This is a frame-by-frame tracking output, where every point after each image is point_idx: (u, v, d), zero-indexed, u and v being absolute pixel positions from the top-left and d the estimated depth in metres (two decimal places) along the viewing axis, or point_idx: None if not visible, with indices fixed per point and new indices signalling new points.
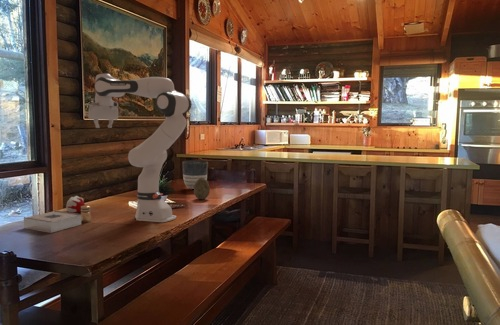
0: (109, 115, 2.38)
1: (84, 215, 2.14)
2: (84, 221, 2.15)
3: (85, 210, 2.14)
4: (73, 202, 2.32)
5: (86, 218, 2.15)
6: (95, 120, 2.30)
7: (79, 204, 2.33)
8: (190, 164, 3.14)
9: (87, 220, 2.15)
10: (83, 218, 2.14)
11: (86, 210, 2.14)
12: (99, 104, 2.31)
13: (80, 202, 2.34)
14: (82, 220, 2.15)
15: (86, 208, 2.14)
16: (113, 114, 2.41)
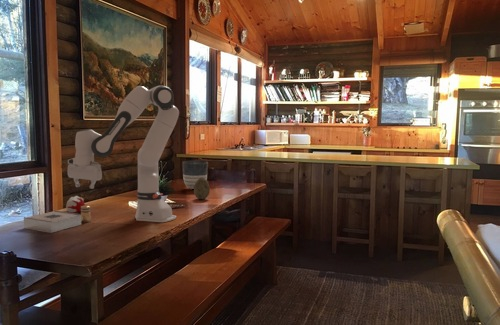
0: None
1: (84, 215, 2.14)
2: (84, 221, 2.15)
3: (85, 210, 2.14)
4: (73, 202, 2.32)
5: (86, 218, 2.15)
6: (94, 181, 2.12)
7: (79, 204, 2.33)
8: (190, 164, 3.14)
9: (87, 220, 2.15)
10: (83, 218, 2.14)
11: (86, 210, 2.14)
12: None
13: (80, 202, 2.34)
14: (82, 220, 2.15)
15: (86, 208, 2.14)
16: None
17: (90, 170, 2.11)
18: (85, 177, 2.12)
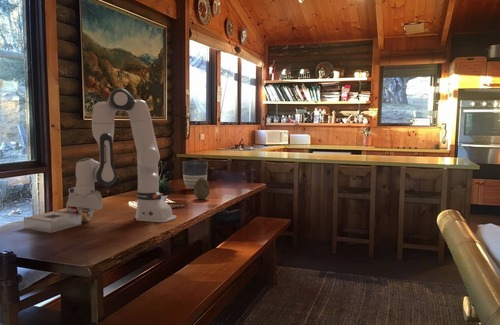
0: None
1: (84, 215, 2.14)
2: (84, 221, 2.15)
3: (85, 210, 2.14)
4: None
5: (86, 218, 2.15)
6: (93, 209, 2.15)
7: None
8: (190, 164, 3.14)
9: (87, 220, 2.15)
10: (83, 218, 2.14)
11: (86, 210, 2.14)
12: None
13: None
14: (82, 220, 2.15)
15: (86, 208, 2.14)
16: None
17: (91, 199, 2.12)
18: (86, 206, 2.13)
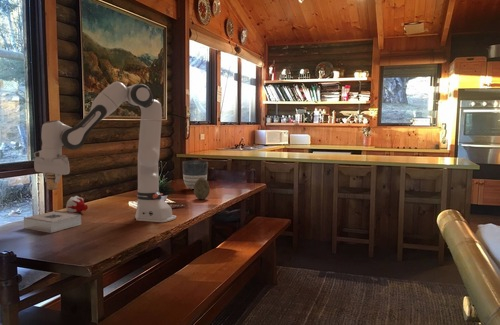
0: None
1: (49, 182, 2.01)
2: (50, 188, 2.02)
3: (51, 177, 2.01)
4: (73, 202, 2.32)
5: (52, 185, 2.02)
6: (59, 174, 2.02)
7: (79, 204, 2.33)
8: (190, 164, 3.14)
9: (53, 187, 2.02)
10: (49, 185, 2.01)
11: (52, 177, 2.01)
12: None
13: (80, 202, 2.34)
14: (48, 187, 2.02)
15: (52, 174, 2.01)
16: None
17: (57, 164, 1.99)
18: (52, 171, 2.01)
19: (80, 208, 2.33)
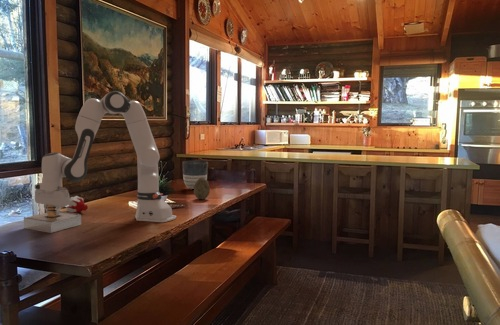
0: None
1: (50, 214, 2.03)
2: None
3: (52, 209, 2.03)
4: (73, 202, 2.32)
5: (53, 217, 2.03)
6: (60, 206, 2.03)
7: (79, 204, 2.33)
8: (190, 164, 3.14)
9: None
10: (49, 217, 2.03)
11: (53, 209, 2.03)
12: None
13: (80, 202, 2.34)
14: None
15: (53, 206, 2.03)
16: None
17: (57, 196, 2.01)
18: (52, 203, 2.02)
19: (80, 208, 2.33)
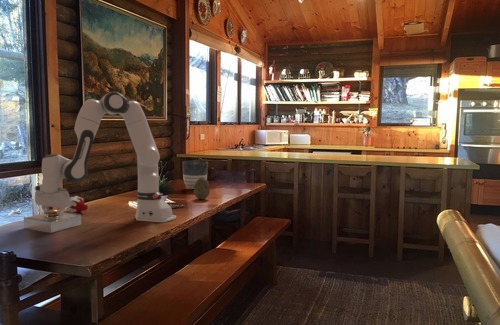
0: None
1: None
2: None
3: (52, 214, 2.03)
4: (73, 202, 2.32)
5: None
6: (63, 208, 2.02)
7: (79, 204, 2.33)
8: (190, 164, 3.14)
9: None
10: None
11: (53, 214, 2.03)
12: None
13: (80, 202, 2.34)
14: None
15: (53, 212, 2.03)
16: None
17: (58, 197, 2.01)
18: (53, 204, 2.02)
19: (80, 208, 2.33)
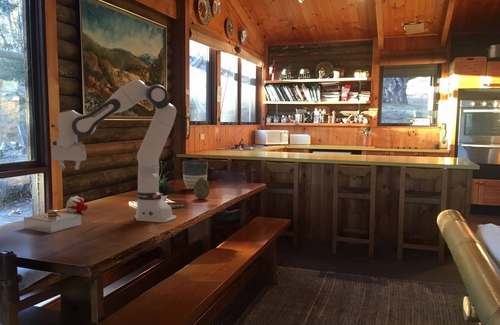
0: None
1: None
2: None
3: (52, 214, 2.03)
4: (73, 202, 2.32)
5: None
6: (79, 161, 2.13)
7: (79, 204, 2.33)
8: (190, 164, 3.14)
9: None
10: None
11: (53, 214, 2.03)
12: None
13: (80, 202, 2.34)
14: None
15: (53, 212, 2.03)
16: None
17: (74, 151, 2.11)
18: (69, 158, 2.12)
19: (80, 208, 2.33)
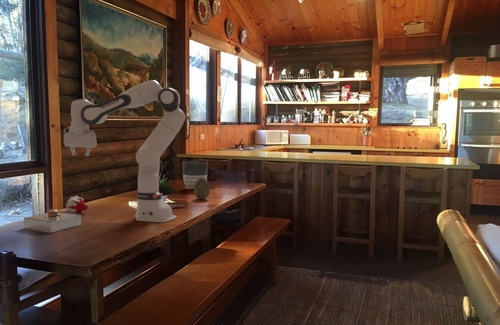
0: None
1: None
2: None
3: (52, 214, 2.03)
4: (73, 202, 2.32)
5: None
6: (90, 148, 2.21)
7: (79, 204, 2.33)
8: (190, 164, 3.14)
9: None
10: None
11: (53, 214, 2.03)
12: None
13: (80, 202, 2.34)
14: None
15: (53, 212, 2.03)
16: None
17: (85, 138, 2.20)
18: (81, 145, 2.21)
19: (80, 208, 2.33)
